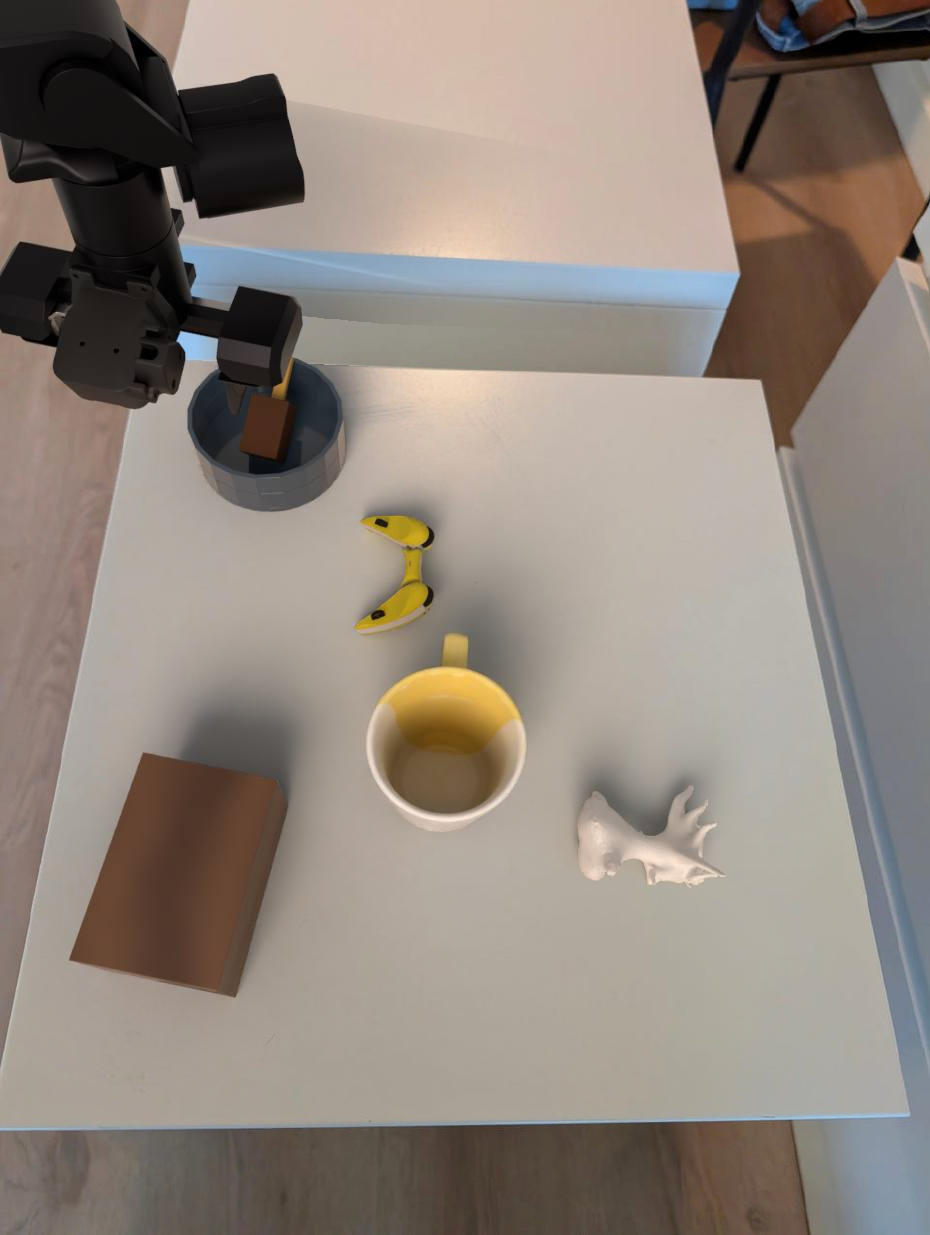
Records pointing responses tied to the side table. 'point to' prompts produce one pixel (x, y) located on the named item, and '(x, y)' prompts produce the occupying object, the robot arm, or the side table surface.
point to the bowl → (261, 480)
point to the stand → (184, 876)
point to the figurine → (644, 843)
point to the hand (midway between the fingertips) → (175, 397)
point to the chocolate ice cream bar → (269, 424)
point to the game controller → (413, 592)
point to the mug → (446, 743)
